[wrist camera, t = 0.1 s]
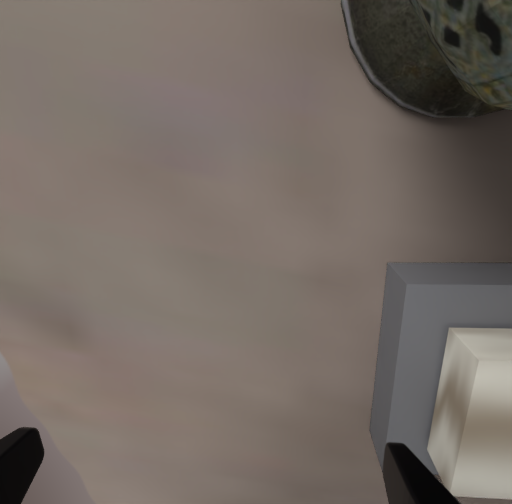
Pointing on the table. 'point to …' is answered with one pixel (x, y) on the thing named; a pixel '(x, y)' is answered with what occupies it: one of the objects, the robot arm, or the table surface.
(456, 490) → the sliding lid
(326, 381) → the table surface
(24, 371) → the table surface
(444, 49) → the lidded ginger jar
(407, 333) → the socket block
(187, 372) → the table surface
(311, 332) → the table surface
